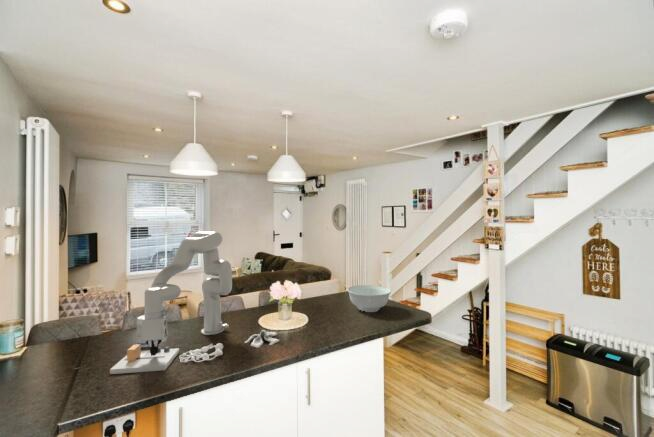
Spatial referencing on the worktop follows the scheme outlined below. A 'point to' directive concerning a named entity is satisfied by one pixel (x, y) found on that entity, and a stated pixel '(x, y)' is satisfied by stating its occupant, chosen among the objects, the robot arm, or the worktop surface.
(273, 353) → the worktop surface
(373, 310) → the bowl
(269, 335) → the cloth
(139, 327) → the supplement tub
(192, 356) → the tangled rod sculpture
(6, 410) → the worktop surface
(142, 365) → the console
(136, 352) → the block
